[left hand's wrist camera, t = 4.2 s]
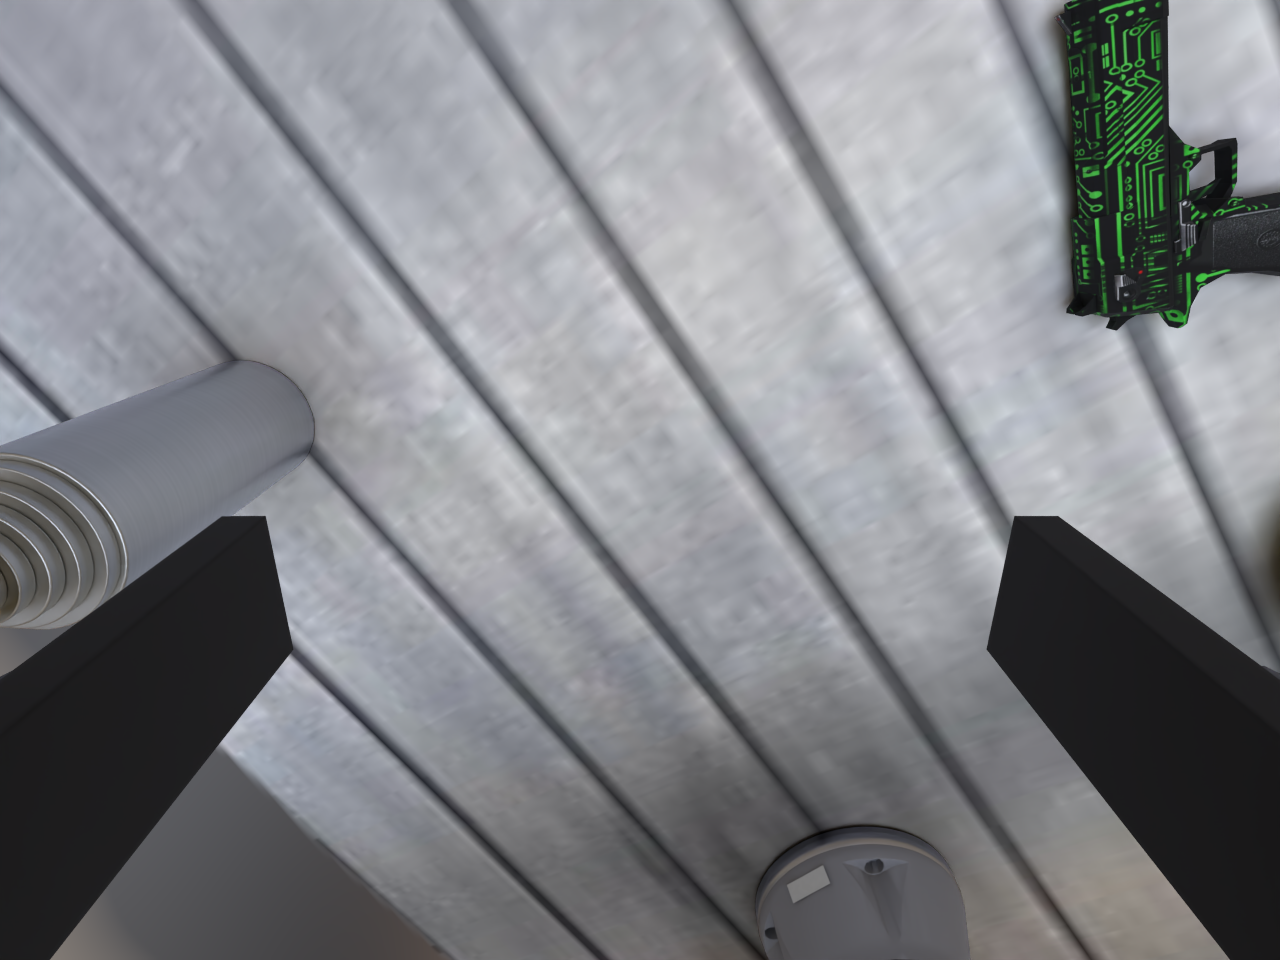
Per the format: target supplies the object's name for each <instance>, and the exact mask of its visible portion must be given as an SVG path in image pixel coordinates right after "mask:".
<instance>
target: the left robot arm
mask: <svg viewBox="0 0 1280 960" xmlns="http://www.w3.org/2000/svg"><path fill="white" fill-rule="evenodd" d="M292 650H293V645H292V640H291V636H290V631H289V626H288V621H287V616H286V612H285V607H284V602H283V597H282V593H281V588H280V583H279V578H278V573H277V569H276V564H275V559H274V554H273V549H272V545H271V540H270V535H269V530H268V526H267V521H266V516H221V517H220V518H219V519H217V520H216V521H215V522H213V523H212V524H211V525H209V526H208V527H207V528H205V529H204V530H202V531H201V532H200V533H198V534H197V535H196V536H194V537H193V538H192V539H190V540H189V541H188V542H186V543H185V544H183V545H182V546H181V547H179V548H178V549H177V550H175V551H174V552H173V553H171V554H170V555H169V556H167V557H166V558H165V559H163V560H162V561H160V562H159V563H158V564H156V565H155V566H154V567H152V568H151V569H150V570H148V571H147V572H146V573H144V574H143V575H141V576H140V577H139V578H137V579H136V580H135V581H133V582H132V583H131V584H129V585H128V586H127V587H125V588H124V589H122V590H121V591H120V592H118V593H117V594H116V595H114V596H113V597H112V598H110V599H109V600H108V601H106V602H105V603H104V604H102V605H101V606H99V607H98V608H97V609H95V610H94V611H93V612H91V613H90V614H89V615H87V616H86V617H85V618H83V619H82V620H80V621H79V622H78V623H76V624H75V625H74V626H72V627H71V628H70V629H68V630H67V631H66V632H64V633H63V634H62V635H60V636H59V637H58V638H56V639H55V640H53V641H52V642H51V643H49V644H48V645H47V646H45V647H44V648H43V649H41V650H40V651H39V652H37V653H36V654H34V655H33V656H32V657H30V658H29V659H28V660H26V661H25V662H24V663H22V664H21V665H20V666H18V667H17V668H15V669H14V670H13V671H11V672H9V673H7V674H5V675H3V676H1V677H0V960H50V959H51V957H52V956H53V955H54V954H55V952H56V951H57V950H58V949H59V947H60V946H61V945H62V944H63V942H64V941H65V940H66V938H67V937H68V936H69V935H70V933H71V932H72V931H73V929H74V928H75V927H76V926H77V924H78V923H79V922H80V921H81V919H82V918H83V917H84V916H85V914H86V913H87V912H88V910H89V909H90V908H91V907H92V905H93V904H94V903H95V901H96V900H97V899H98V898H99V896H100V895H101V894H102V893H103V891H104V890H105V889H106V887H107V886H108V885H109V884H110V882H111V881H112V880H113V879H114V877H115V876H116V875H117V873H118V872H119V871H120V870H121V868H122V867H123V866H124V864H125V863H126V862H127V861H128V859H129V858H130V857H131V856H132V854H133V853H134V852H135V851H136V849H137V848H138V847H139V845H140V844H141V843H142V842H143V840H144V839H145V838H146V836H147V835H148V834H149V833H150V831H151V830H152V829H153V828H154V826H155V825H156V824H157V822H158V821H159V820H160V819H161V817H162V816H163V815H164V814H165V812H166V811H167V810H168V808H169V807H170V806H171V805H172V803H173V802H174V801H175V800H176V798H177V797H178V796H179V794H180V793H181V792H182V791H183V789H184V788H185V787H186V786H187V784H188V783H189V782H190V780H191V779H192V778H193V776H194V775H195V774H196V773H197V772H198V770H199V769H200V768H201V766H202V765H203V764H204V763H205V761H206V760H207V759H208V757H209V756H210V755H211V754H212V752H213V751H214V750H215V749H216V747H217V746H218V745H219V743H220V742H221V741H222V740H223V738H224V737H225V736H226V735H227V733H228V732H229V731H230V729H231V728H232V727H233V726H234V724H235V723H236V722H237V721H238V719H239V718H240V717H241V715H242V714H243V713H244V712H245V710H246V709H247V708H248V707H249V705H250V704H251V703H252V701H253V700H254V699H255V698H256V696H257V695H258V694H259V693H260V691H261V690H262V689H263V687H264V686H265V685H266V684H267V682H268V681H269V680H270V679H271V677H272V676H273V675H274V673H275V672H276V671H277V670H278V668H279V667H280V666H281V664H282V663H283V662H284V661H285V659H286V658H287V657H288V656H289V654H290V653H291V652H292ZM987 650H988V652H989V653H990V654H991V656H992V657H993V658H994V659H995V661H996V662H997V663H998V664H999V666H1000V667H1001V668H1002V670H1003V671H1004V672H1005V673H1006V675H1007V676H1008V677H1009V679H1010V680H1011V681H1012V682H1013V684H1014V685H1015V686H1016V687H1017V689H1018V690H1019V691H1020V693H1021V694H1022V695H1023V696H1024V698H1025V699H1026V700H1027V701H1028V703H1029V704H1030V705H1031V707H1032V708H1033V709H1034V710H1035V712H1036V713H1037V714H1038V715H1039V717H1040V718H1041V719H1042V721H1043V722H1044V723H1045V724H1046V726H1047V727H1048V728H1049V729H1050V731H1051V732H1052V733H1053V735H1054V736H1055V737H1056V738H1057V740H1058V741H1059V742H1060V743H1061V745H1062V746H1063V747H1064V749H1065V750H1066V751H1067V752H1068V754H1069V755H1070V756H1071V758H1072V759H1073V760H1074V761H1075V763H1076V764H1077V765H1078V766H1079V768H1080V769H1081V770H1082V772H1083V773H1084V774H1085V775H1086V777H1087V778H1088V779H1089V780H1090V782H1091V783H1092V784H1093V786H1094V787H1095V788H1096V789H1097V791H1098V792H1099V793H1100V794H1101V796H1102V797H1103V798H1104V800H1105V801H1106V802H1107V803H1108V805H1109V806H1110V807H1111V808H1112V810H1113V811H1114V812H1115V814H1116V815H1117V816H1118V817H1119V819H1120V820H1121V821H1122V822H1123V824H1124V825H1125V826H1126V828H1127V829H1128V830H1129V831H1130V833H1131V834H1132V835H1133V837H1134V838H1135V839H1136V840H1137V842H1138V843H1139V844H1140V845H1141V847H1142V848H1143V849H1144V851H1145V852H1146V853H1147V854H1148V856H1149V857H1150V858H1151V859H1152V861H1153V862H1154V863H1155V865H1156V866H1157V867H1158V868H1159V870H1160V871H1161V872H1162V873H1163V875H1164V876H1165V877H1166V879H1167V880H1168V881H1169V882H1170V884H1171V885H1172V886H1173V887H1174V889H1175V890H1176V891H1177V893H1178V894H1179V895H1180V896H1181V898H1182V899H1183V900H1184V901H1185V903H1186V904H1187V905H1188V907H1189V908H1190V909H1191V910H1192V912H1193V913H1194V914H1195V916H1196V917H1197V918H1198V919H1199V921H1200V922H1201V923H1202V924H1203V926H1204V927H1205V928H1206V930H1207V931H1208V932H1209V933H1210V935H1211V936H1212V937H1213V938H1214V940H1215V941H1216V942H1217V944H1218V945H1219V946H1220V947H1221V949H1222V950H1223V951H1224V952H1225V954H1226V955H1227V956H1228V958H1229V959H1230V960H1280V673H1277V672H1275V671H1273V670H1271V669H1269V668H1267V667H1265V666H1261V665H1259V664H1258V663H1256V662H1255V661H1254V660H1252V659H1251V658H1250V657H1248V656H1247V655H1246V654H1244V653H1243V652H1242V651H1240V650H1239V649H1237V648H1236V647H1235V646H1233V645H1232V644H1231V643H1229V642H1228V641H1227V640H1225V639H1224V638H1223V637H1221V636H1220V635H1218V634H1217V633H1216V632H1214V631H1213V630H1212V629H1210V628H1209V627H1208V626H1206V625H1205V624H1204V623H1202V622H1201V621H1200V620H1198V619H1197V618H1195V617H1194V616H1193V615H1191V614H1190V613H1189V612H1187V611H1186V610H1185V609H1183V608H1182V607H1181V606H1179V605H1178V604H1176V603H1175V602H1174V601H1172V600H1171V599H1170V598H1168V597H1167V596H1166V595H1164V594H1163V593H1162V592H1160V591H1159V590H1158V589H1156V588H1155V587H1153V586H1152V585H1151V584H1149V583H1148V582H1147V581H1145V580H1144V579H1143V578H1141V577H1140V576H1139V575H1137V574H1136V573H1134V572H1133V571H1132V570H1130V569H1129V568H1128V567H1126V566H1125V565H1124V564H1122V563H1121V562H1120V561H1118V560H1117V559H1115V558H1114V557H1113V556H1111V555H1110V554H1109V553H1107V552H1106V551H1105V550H1103V549H1102V548H1101V547H1099V546H1098V545H1097V544H1095V543H1094V542H1092V541H1091V540H1090V539H1088V538H1087V537H1086V536H1084V535H1083V534H1082V533H1080V532H1079V531H1078V530H1076V529H1075V528H1073V527H1072V526H1071V525H1069V524H1068V523H1067V522H1065V521H1064V520H1063V519H1061V518H1060V517H1059V516H1014V521H1013V526H1012V530H1011V535H1010V540H1009V545H1008V549H1007V554H1006V559H1005V564H1004V569H1003V573H1002V578H1001V583H1000V588H999V593H998V597H997V602H996V607H995V612H994V616H993V621H992V626H991V631H990V636H989V640H988V645H987Z"/></svg>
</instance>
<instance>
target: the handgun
mask: <svg viewBox="0 0 1280 960" xmlns="http://www.w3.org/2000/svg"><path fill="white" fill-rule="evenodd" d="M1064 10H1065V13H1063V14H1061V15H1059V16H1057V17H1055V19H1056V20H1057V21H1058V23H1059V24H1060V25H1061V27H1062V28H1063V29H1064V31H1065V32H1066V38H1067V51H1068V61H1069V76H1070V92H1071V109H1072V126H1073V142H1074V159H1075V173H1076V186H1077V199H1078V212H1079V216H1077V217H1074V218H1071V226H1072V238H1073V249H1074V257H1073V259H1072V269H1073V283H1074V296H1075V298H1074V299H1073V301H1072V302H1071V303H1070V305H1069V306H1068V307H1067V310H1066V313H1070V314H1075V315H1078V316H1086V315H1089V314H1095V315H1099V316H1104V317H1110V320H1109V322H1108V324H1107V326H1106V328H1109V329H1113V330H1118V329H1119V328H1120V327H1121V326H1122V325H1123V324H1124V323H1125V322H1126V321H1127V320H1129V319H1130V318H1132V317H1134V316H1136V315H1140V314H1150V313H1159V314H1160V316H1161V317H1162V318H1163V320H1164V321H1165V322H1166V323H1167V325H1168V326H1170V327H1174V328H1181V327H1183V326H1184V325H1186V324H1187V322H1188V317H1189V313H1190V308H1191V305H1192V303H1193V301H1194V299H1195V297H1196V296H1197V294H1198V292H1199V290H1200V288H1201V287H1203V286H1205V285H1206V284H1208V283H1210V282H1212V281H1214V280H1215V279H1217V278H1219V277H1221V276H1223V275H1225V274H1235V273H1259V274H1267V275H1275V276H1280V193H1274V194H1268V195H1263V196H1257V197H1252V198H1245V199H1243V197H1231V194H1232V192H1233V189H1234V187H1235V185H1236V182H1237V140H1236V138H1230V139H1222V140H1217V141H1215V142H1214V143H1212V144H1210V145H1206V146H1203V147H1200V148H1195V147H1192V146H1189V145H1186V144H1184V143H1183V142H1182V141H1181V139H1180V138H1179V137H1178V136H1177V135H1176V133H1175V132H1174V131H1173V130H1172V129H1171V128H1170V126H1169V100H1168V16H1169V4H1168V0H1072V1H1070V2H1068V3H1066V4H1065V5H1064ZM1211 151H1214V158H1215V180H1214V181H1212V182H1211V183H1209V184H1208V185H1206V186H1203V187H1200V188H1198V189H1195V190H1192V191H1190V188H1189V172H1190V171H1191V170H1192V169H1193V168H1194V167H1195V166H1196V165H1197V164H1198V163H1199V161H1200V160H1201V155H1202V154H1204V153H1207V152H1211ZM1206 195H1207V197H1206V198H1202V197H1204V196H1206ZM1192 201H1193V202H1192Z"/></svg>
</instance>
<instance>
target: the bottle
mask: <svg viewBox="0 0 1280 960" xmlns="http://www.w3.org/2000/svg"><path fill="white" fill-rule="evenodd" d="M313 438H314V421H313V416H312V412H311V410H310V407H309V405H308V403H307V401H306V399H305V397H304V396H303V394H302V393H301V391H300V390H299V389H298V388H297V386H296V385H295V384H294V383H293V382H292V381H291V380H290V379H288V378H287V377H286V376H284V375H283V374H282V373H280V372H278V371H277V370H275V369H273V368H271V367H269V366H267V365H264V364H261V363H257V362H253V361H245V360H236V361H229V362H225V363H222V364H219V365H216V366H213V367H211V368H208V369H205V370H203V371H200V372H197V373H194V374H192V375H189V376H186V377H184V378H181V379H178V380H176V381H173V382H170V383H168V384H165V385H162V386H160V387H157V388H154V389H151V390H149V391H146V392H143V393H141V394H138V395H135V396H133V397H130V398H127V399H125V400H122V401H119V402H117V403H114V404H111V405H108V406H106V407H103V408H100V409H98V410H95V411H92V412H90V413H87V414H84V415H82V416H79V417H76V418H74V419H71V420H68V421H65V422H63V423H60V424H57V425H55V426H52V427H49V428H47V429H44V430H41V431H39V432H36V433H33V434H31V435H28V436H25V437H23V438H20V439H17V440H14V441H12V442H9V443H6V444H4V445H1V446H0V627H9V628H20V629H24V628H27V629H38V630H43V629H55V628H61V627H65V626H68V625H72V624H74V623H78V622H79V621H80V620H82V619H83V618H85V617H86V616H87V615H89V614H90V613H91V612H93V611H94V610H95V609H97V608H98V607H99V606H101V605H102V604H104V603H105V602H106V601H108V600H109V599H110V598H112V597H113V596H114V595H116V594H117V593H118V592H120V591H121V590H122V589H124V588H125V587H127V586H128V585H129V584H131V583H132V582H133V581H135V580H136V579H137V578H139V577H140V576H141V575H143V574H144V573H146V572H147V571H148V570H150V569H151V568H152V567H154V566H155V565H156V564H158V563H159V562H160V561H162V560H163V559H165V558H166V557H167V556H169V555H170V554H171V553H173V552H174V551H175V550H177V549H178V548H179V547H181V546H182V545H183V544H185V543H186V542H188V541H189V540H190V539H192V538H193V537H194V536H196V535H197V534H198V533H200V532H201V531H202V530H204V529H205V528H207V527H208V526H209V525H211V524H212V523H213V522H215V521H216V520H217V519H219V518H220V517H221V516H232V515H234V514H235V513H236V512H238V511H239V510H240V509H241V508H243V507H244V506H245V505H247V504H248V503H249V502H251V501H252V500H253V499H255V498H256V497H257V496H259V495H260V494H261V493H263V492H264V491H265V490H267V489H268V488H269V487H271V486H272V485H273V484H275V483H276V482H277V481H279V480H280V479H281V478H283V477H284V476H285V475H287V474H288V473H289V472H291V471H292V470H293V469H294V468H296V467H297V466H298V465H299V464H300V463H301V462H302V461H303V460H304V459H305V458H306V456H307V455H308V453H309V451H310V449H311V446H312V443H313Z"/></svg>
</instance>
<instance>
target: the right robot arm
mask: <svg viewBox="0 0 1280 960" xmlns="http://www.w3.org/2000/svg"><path fill="white" fill-rule="evenodd" d="M755 911H756V918H757V924H758V930H759V935H760V939H761V942H762V944H763V947H764V950H765V952H766V954H767V957H768V958H769V960H971V959H970V950H969V941H968V932H967V924H966V915H965V907H964V903H963V899H962V895H961V891H960V889H959V887H958V884H957V882H956V880H955V878H954V876H953V874H952V872H951V869H950V867H949V866H948V864H947V862H946V861H945V859H944V858H943V857H942V856H941V855H940V854H939V853H938V852H937V851H936V850H935V849H934V848H933V847H931V846H930V845H929V844H927V843H926V842H924V841H922V840H921V839H919V838H917V837H915V836H912V835H910V834H907V833H904V832H901V831H897V830H892V829H887V828H879V827H853V828H844V829H839V830H834V831H830V832H826V833H823V834H820V835H817V836H815V837H812V838H810V839H808V840H805V841H804V842H802V843H800V844H798V845H796V846H795V847H793V848H791V849H790V850H789V851H787V852H786V853H785V854H783V855H782V856H781V857H780V858H779V859H778V860H777V861H775V863H774V864H773V865H772V866H771V867H770V868H769V870H768V871H767V872H766V874H765V875H764V877H763V879H762V881H761V883H760V885H759V888H758V891H757V894H756V901H755Z"/></svg>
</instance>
